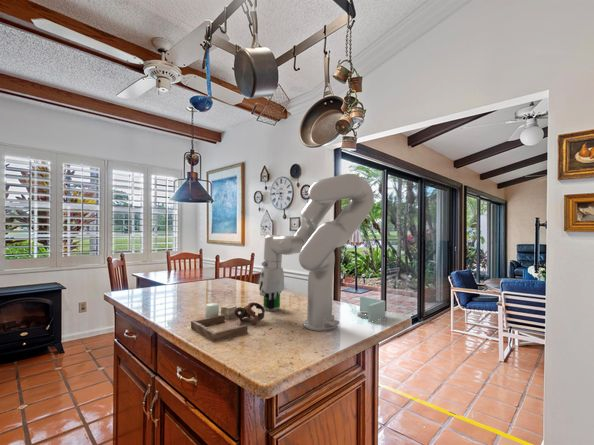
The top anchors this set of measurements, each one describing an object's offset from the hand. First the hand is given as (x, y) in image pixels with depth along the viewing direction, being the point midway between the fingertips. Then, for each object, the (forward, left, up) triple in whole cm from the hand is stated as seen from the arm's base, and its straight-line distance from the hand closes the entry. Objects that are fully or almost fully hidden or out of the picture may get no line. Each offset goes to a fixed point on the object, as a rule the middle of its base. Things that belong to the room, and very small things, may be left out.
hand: (270, 308), depth 128 cm
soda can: (+9, -8, -4) cm, 13 cm away
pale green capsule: (+12, +20, -4) cm, 24 cm away
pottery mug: (+1, +10, -4) cm, 11 cm away
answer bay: (-1, +24, -4) cm, 24 cm away
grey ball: (+9, +5, -4) cm, 11 cm away
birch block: (+11, +13, -4) cm, 18 cm away
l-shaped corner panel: (-25, -32, -5) cm, 41 cm away
